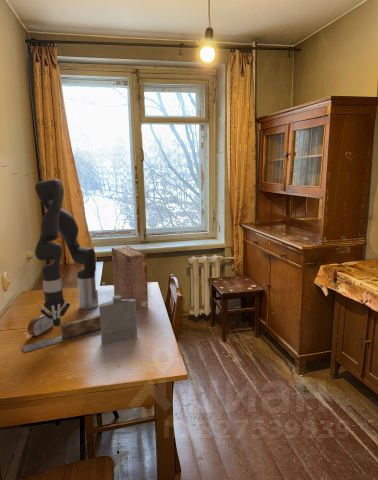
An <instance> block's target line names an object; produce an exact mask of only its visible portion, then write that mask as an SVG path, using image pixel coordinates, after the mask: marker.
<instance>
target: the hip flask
mask: <svg viewBox="0 0 378 480" xmlns="http://www.w3.org/2000/svg"><path fill="white" fill-rule="evenodd" d="M98 310H99V315H100V327H101V331H100V340H101V344H102V345H108V344H111V343H114V342H119V340H120V341H125V340H130V339H129V338H132V339H136V338H138V325H137V324H138V323H137V320H138V319H137V310H136V300H135V299H122V300H121V296H119V295H117V296H114V295H113V296H112V301H108V302H104V303H100V304H98ZM135 337H136V338H135ZM124 339H125V340H124Z"/></svg>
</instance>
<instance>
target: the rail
mask: <svg viewBox="0 0 378 480" xmlns="http://www.w3.org/2000/svg"><path fill="white" fill-rule="evenodd" d="M98 332H101V328H100V329H97V330H93V331H89V332H86V333H82V334H79V335H75V336H72V337H69V338H68V339H64V338H63V336H62V335H60V336H56V337H54V338H53V337H52V338H49V339H46V340H42V341H39V342H38V341H37V342H35V343H30V344H26V345H24V346H21V349H22V351H23V353H28V352H29V353H30V352H32V351H36V350H38V349H42V348H46V347H49V346H53V345H57V344H61V343H63V342H67V341H70V340H74V339H77V338H81V337H84V336H88V335H92V334H94V333H98Z"/></svg>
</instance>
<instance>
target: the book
mask: <svg viewBox="0 0 378 480" xmlns="http://www.w3.org/2000/svg"><path fill="white" fill-rule="evenodd" d="M111 258H112V260H111V261H112V275H113V277H112V278H113V281H112V282H113V296H117V295H119V296H121V300H122V299H135V300H136V309H138V308H142V307H145V306H148V307H149V302H148V301H149V298H148V297H149V296H148V271H147V270H148V269H147V268H148V267H147V266H148V264H147V254H146V253H144V252H142V251H140V250H137V249H136V248H133V247H130V246H128V245H125V246H124V247H123V246H122V247H117V248H114V247H111ZM142 309H143V308H142ZM138 310H139V309H138Z"/></svg>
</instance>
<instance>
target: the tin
mask: <svg viewBox="0 0 378 480" xmlns="http://www.w3.org/2000/svg"><path fill="white" fill-rule="evenodd" d="M46 312H47V313H48V314H49V315H51V312H50V311H46ZM53 326H54V325H53V319H49V318H48V317H46V316H45V315H44V314H42V313H40V314H38V315H37V316H35V317H33V318H32V319H31V320H30V321H29V323H28V325H27V332H28V333H27V334H29V335H30V336H32V337H39V336H40V335H42V334H44V333H45V332H46V331H48V330H50V329H51V328H52V327H53Z"/></svg>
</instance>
